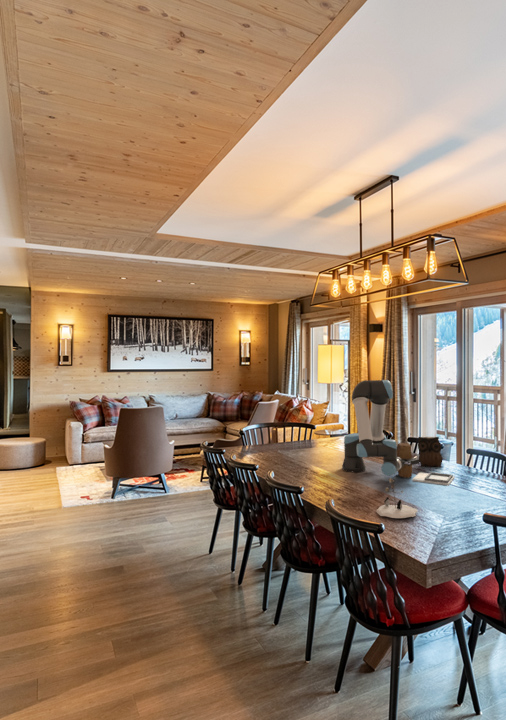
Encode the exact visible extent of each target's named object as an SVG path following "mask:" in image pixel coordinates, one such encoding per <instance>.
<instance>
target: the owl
mask: <svg viewBox="0 0 506 720" xmlns="http://www.w3.org/2000/svg"><path fill="white" fill-rule="evenodd" d="M417 449H418V453H419V454H418V459H419V464H420V467H421V468H422V467H423V468H441V467H442V465H443V460H444V458H443V455H442V453H441V450H442V444H441V442H440V437H439V436H425V437H424V436H418V442H417Z"/></svg>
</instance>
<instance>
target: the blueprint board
mask: <svg viewBox="0 0 506 720" xmlns="http://www.w3.org/2000/svg"><path fill="white" fill-rule="evenodd" d="M411 480H412V482H418V483H427V484H435V485H443V486H450V484H451V483H452V482H453V480H455V476H453V474H451V473H450V474H448V473H441V472H439V473H438V472H434V471H433V472H432V471H431V472H429V473H427V472H418V473H417V474H416V475H415V476H414V477H413V478H412V479H411Z"/></svg>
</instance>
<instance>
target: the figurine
mask: <svg viewBox="0 0 506 720" xmlns="http://www.w3.org/2000/svg"><path fill="white" fill-rule="evenodd" d="M388 480H389V481H388V482H389V483H390V487H391V488H389V487H385V492H386V493H393V497H394V498H393V499H394V504H393V505H392V504H390V503H391V502H390V499H389V498H390V497H389V496H388V497H386V498H385V499H384V502H383V503H384V504H382V505H380V506H379V507H378V509H376V513H377V514H378V515H379V516H380V517H387V518H392V519H405V518H411V517H412V518H413V517H416V516H417V513H418V509H417V508H414V507H412V506H409V505H406V504H403V503H402V499H399V500H398V502H396V494H401V493H403V492H404V491H403V490H401V491H396V492H395V488H394V487H395V479H393V478H389V479H388ZM390 489H391V490H390Z"/></svg>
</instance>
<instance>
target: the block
mask: <svg viewBox="0 0 506 720" xmlns="http://www.w3.org/2000/svg"><path fill="white" fill-rule="evenodd" d="M397 457H400V458H401V459H413V456H412V446H411V444H410V443H408V442H400V443H397ZM404 461H405V460H404ZM397 474H398V476H399V477H400V478H406V479H407V478H411V477H412V476H413V465H410V466H408V464H407V465H403V467H402V468H401V469H400V470H398V471H397Z"/></svg>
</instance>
